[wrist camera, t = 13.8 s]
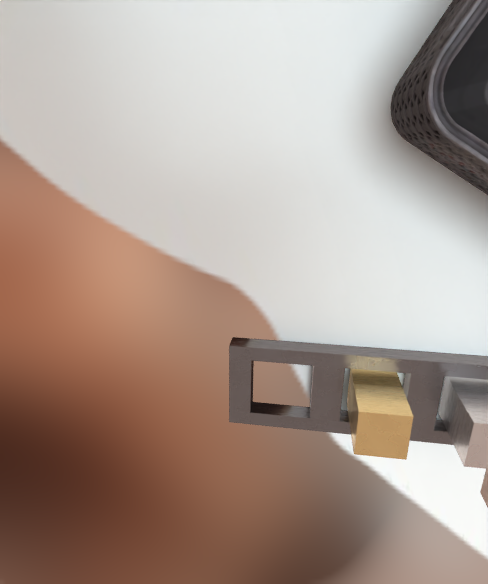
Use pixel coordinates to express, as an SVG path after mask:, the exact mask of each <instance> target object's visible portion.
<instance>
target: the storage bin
mask: <svg viewBox="0 0 488 584" xmlns="http://www.w3.org/2000/svg"><path fill="white" fill-rule="evenodd" d="M391 115H392V120H393V123H394V126H395V128H396V130H397V131H398V133H399V134H400V135H401V136H402V137H403V138H404V139H405V140H406V141H408V142H409V143H411V144H412V145H414V146H415V147H417V148H418V149H420V150H421V151H423V152H424V153H426V154H427V155H429V156H430V157H432V158H433V159H435V160H436V161H438V162H439V163H441V164H442V165H444V166H445V167H447V168H448V169H450V170H451V171H453V172H454V173H456V174H457V175H459V176H460V177H462V178H463V179H465V180H466V181H468V182H469V183H471V184H472V185H474V186H475V187H477V188H478V189H480V190H481V191H483V192H484V193H486V194H487V195H488V0H453V1H452V3H451V4H450V6H449V7H448V9H447V10H446V12H445V13H444V15H443V16H442V18H441V19H440V21H439V22H438V24H437V25H436V27H435V28H434V30H433V31H432V33H431V34H430V36H429V37H428V39H427V40H426V42H425V43H424V45H423V46H422V48H421V49H420V51H419V52H418V54H417V55H416V57H415V58H414V60H413V61H412V63H411V64H410V66H409V67H408V69H407V70H406V72H405V73H404V75H403V76H402V77H401V79H400V81H399V82H398V84H397V86H396V88H395V91H394V94H393V97H392V103H391Z"/></svg>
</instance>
